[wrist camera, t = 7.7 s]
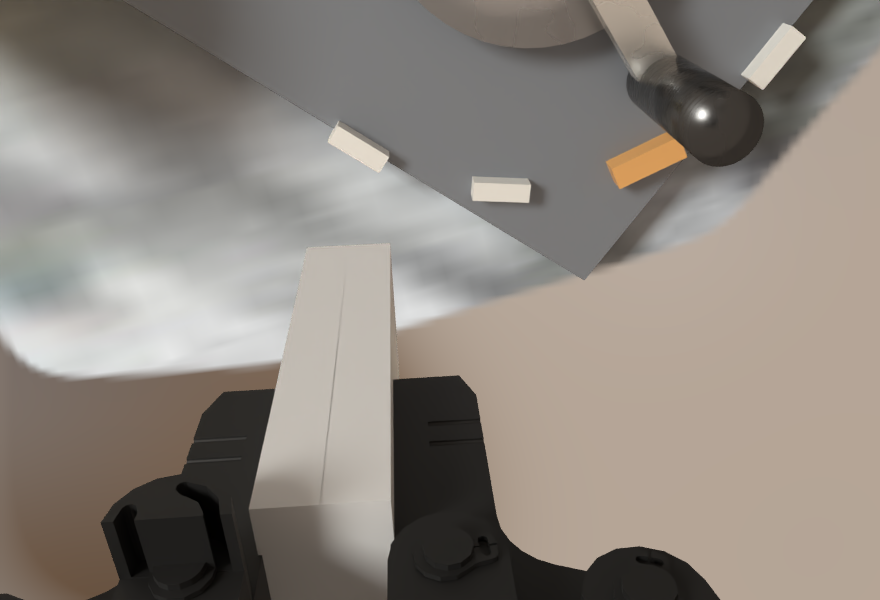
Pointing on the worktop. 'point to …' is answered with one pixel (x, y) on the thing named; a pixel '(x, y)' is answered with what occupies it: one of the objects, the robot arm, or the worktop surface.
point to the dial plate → (489, 101)
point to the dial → (644, 54)
